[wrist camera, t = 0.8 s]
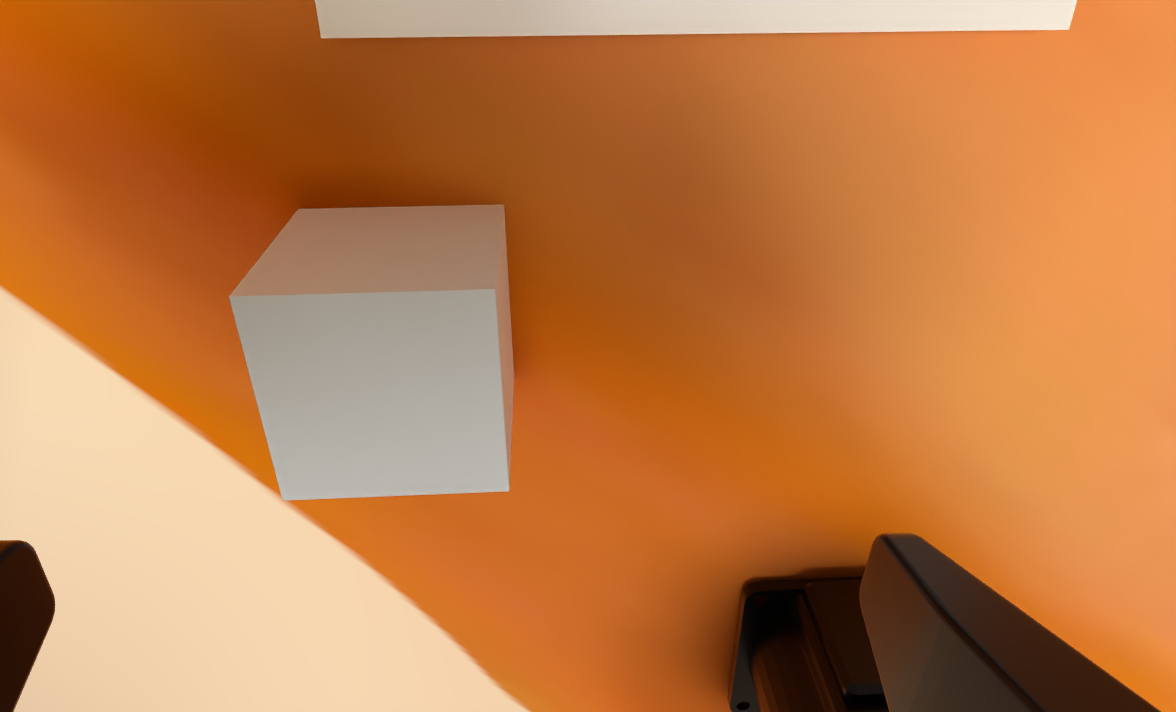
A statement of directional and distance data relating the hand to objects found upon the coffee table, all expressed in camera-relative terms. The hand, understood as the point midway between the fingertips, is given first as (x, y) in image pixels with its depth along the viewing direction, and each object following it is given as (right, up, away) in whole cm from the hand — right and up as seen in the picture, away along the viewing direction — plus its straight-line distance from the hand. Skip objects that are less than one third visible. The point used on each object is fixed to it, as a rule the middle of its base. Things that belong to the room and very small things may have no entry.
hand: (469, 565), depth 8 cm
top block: (-3, +4, +12) cm, 13 cm away
